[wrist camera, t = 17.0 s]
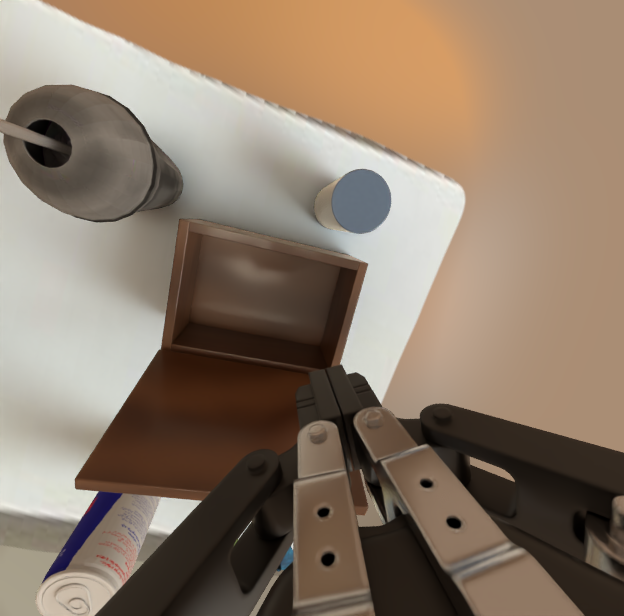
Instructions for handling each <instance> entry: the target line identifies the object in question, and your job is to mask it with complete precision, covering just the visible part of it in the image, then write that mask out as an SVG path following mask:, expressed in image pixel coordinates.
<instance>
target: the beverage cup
mask: <svg viewBox="0 0 624 616" xmlns="http://www.w3.org/2000/svg"><path fill="white" fill-rule="evenodd" d="M0 132H1V133H4V145H5V149H6V152H7V156H8V160H9V162H10V164H11V165H12V167H13V169H14V170H15V172H16V173H17V175H18V177H19V178H20V180H21V181H22V183H23V184H24V185H25V186H26V187H28V188H29V189H30V190H31V191H32V192H33V193H34V194H35V195H36V196H37V197H38V198H39V199H41V200H42V201H43V202H45V203H47V204H49V205H51V206H52V207H54V208H56V209H58V210H60V211H61V212H64V213H66V214H69V215H72V216H74V217H76V218H80V219H84V220H88V221H92V222H114V221H118V220H120V219H123V218H125V217H128V216H130V215H133V214H134V213H135V212H137V211H144V210H150V209H156V208H162V207H164V206H168V205H170V204H173V203H174V202H175V201H176V200H177V199H178V198H179V196H180V194H181V193H182V188H183V181H182V176H181V173H180V171H179V169H178V168H177V167H176V165H175V164H174V163H173V162H172V160H171V159H170V158H169V157H168V156H167V155H166V154H165V153H164V152H163V151H162V150H161V149H160V148H159V147H158V146H157V145H156V144H155V143H154V142H153V141H152V140H151V139H150V137H149V135H148V133H147V131H146V129H145V127H144V126H143V124H142V123H141V122H140V121H139V120H138V119H137V118H136V116H135V115H134V114H133V113H132V112H131V111H130V110H129V109H128V108H127V107H125V106H124V105H122V104H121V103H119V102H118V101H116V100H115V99H113V98H112V97H110V96H108V95H105V94H101V93H98V92H95V91H92V90H89V89H85V88H81V87H78V86H74V85H45V86H42V87H40V88H37V89H35V90H32V91H30V92H27V93H26V94H24V95H23V96H22V97H21V98H20V99H19V100H18V101H17V102H16V103H15V104H14V105H13V106H12V107H11V109H10V111H9V113H8V116H7V118H6V120H2V119H0Z"/></svg>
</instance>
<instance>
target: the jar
mask: <svg viewBox="0 0 624 616" xmlns="http://www.w3.org/2000/svg"><path fill="white" fill-rule="evenodd" d="M390 207H391V193H390V189H389V187H388V185H387V183H386V181H385V180H384V179H383V178H382V177H381V176H380V175H379V174H377V173H376V172H374V171H371V170H367V169H357V170H353V171H351V172H349V173H347V174H345V175H344V176H342V177H340V178H339V179H337V180H336V181H334V182H332V183H331V184H329V185H327V186H326V187H324V188H323V189H322V190H321V191H320V192H319V193H318V194H317V196H316V198H315V201H314V213H315V216H316V218H317V220H318V222H319V223H320V224H321V225H322V226H324V227H326V228H328V229H332V230H338V231H344V232H351V233H357V234H363V233H368V232H371V231H373V230H375V229H377V228H378V227H379V226H380V225H381V224H382V223H383V222H384V221H385V219H386V218H387V216H388V214H389V211H390Z"/></svg>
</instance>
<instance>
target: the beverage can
mask: <svg viewBox="0 0 624 616" xmlns="http://www.w3.org/2000/svg"><path fill="white" fill-rule="evenodd" d="M160 498H161V497H156V496H145V495H135V494H124V493H113V492H102V491H99V492H98V494H97V495H96V497H95V498H94V500H93V501H92V503H91V505H90V506H89V508H88V509H87V511H86V512H85V514H84V516H83V517H82V519H81V520H80V522H79V523H78V525H77V527H76V528H75V530H74V531H73V533H72V535H71V536H70V538H69V539H68V541H67V542H66V544H65V546H64V547H63V549H62V550H61V552H60V553H59V555H58V557H57V558H56V560H55V561H54V563H53V564H52V566H51V568H50V569H49V571H48V572H47V574H46V576H45V578H44V580H43V582H42V584H41V586H40V587H39V589H38V591H37V594H36V599H35V600H36V606H37V608H38V611H39V612H40V613H41V614H42V616H95V614H96V613H97V612H98V611H99V610H100V609H101V608H102V607H103V606H104V605H105V604H106V603H107V602H108V601H109V600H110V599H111V597H112V596H113V595H114V594H115V593H116V592H117V591H118V590H119V589H120V588H121V587H122V586H123V585H124V584H125V583H126V581H127V580H128V579H129V576H130V574H131V571H132V569H133V566H134V564H135V561H136V559H137V556H138V554H139V551H140V549H141V546H142V544H143V541H144V539H145V536H146V534H147V531H148V529H149V526H150V524H151V521H152V519H153V516H154V514H155V511H156V509H157V506H158V503H159V501H160Z"/></svg>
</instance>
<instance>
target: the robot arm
mask: <svg viewBox="0 0 624 616" xmlns="http://www.w3.org/2000/svg"><path fill="white" fill-rule="evenodd" d="M325 370H326V372H325ZM325 370H324V369H321V370H317V371H313V372H309V373H308V375H309V379H310V383H311V384H308V385H304V386H300V387H298V389H297V391H296V393H295V399H296V405H297V412H298V419H299V426H300V432H299V433H298V441H297V443H296V444H295V445H294V446H293V447H292V448H290V449H289V450H287V451H286V452H284V453H282V454H280V455H277V453H276V452H275V451H273V450H270V449H259V450H256V451H253V452H251V453H249V454H247V455H246V456H244V457H243V458H242V459H241V460H240V461H239V462H238V463H237V464H236V465H235V467H234V468H233V469H232V470H231V471H230V472H229V473H228V474H227V475H226V476H225V477H224V478H223V479H222V480H221V481H220V482H219V484H218V485H217V486H216V487H215V488H214V489H213V490H212V491H211V492H210V493H209V494H208V495H207V496H206V497H205V498H204V500H203V501H202V502H201V503H200V504H199V505H198V506H197V507H196V508H195V509H194V510H193V511H192V512H191V513H190V514H189V515H188V517H187V518H186V519H185V520H184V521H183V522H182V523H181V524H180V525H179V526H178V527H177V528H176V529H175V530H174V531H173V533H172V534H171V535H170V536H169V537H168V538H167V539H166V540H165V541H164V542H163V543H162V544H161V545H160V546H159V547H158V548H157V550H156V551H155V552H154V553H153V554H152V555H151V556H150V557H149V558H148V559H147V560H146V561H145V562H144V564H142V566H141V567H140V568H139V569H138V570H137V571H136V572H135V573H134V574H133V575H132V576H131V577H130V578H129V579H128V580H127V581H126V583H125V584H124V585H123V586H122V587H121V588H120V589H119V590H118V591H117V592H116V593H115V594H114V595H113V596H112V597H111V599H110V600H109V601H108V602H107V603H106V604H105V605H104V606H103V607H102V608H101V609H100V610H99V611H98V612H97V613H96V614H95V616H249V615H250V613H251V612H252V610H253V609H254V607H255V605H256V604H257V602H258V600H259V599H260V597H261V595H262V593H263V592H264V590H265V588H266V587H267V585H268V583H269V581H270V580H271V578H272V577H273V575H274V573H275V572H276V570H277V568H278V567H279V565H280V563H281V561H282V560H283V558H284V556H285V555H286V553H287V551H288V550H289V548H290V546H291V545H292V543H293V562H292V563H291V564H290V565H289V566H288V567H287V568H286V569H285V570H284V571H283V572H282V573H281V575H280V576H279V577H278V579H277V580H276V581H275V583H274V585H273V586H272V588H271V589H270V591H269V593H268V595H267V597H266V598H265V600H264V602H263V604H262V606H261V608H260V609H259V612H258V613H257V615H256V616H624V453H623V452H619V451H615V450H612V449H608V448H605V447H600V446H597V445H594V444H590V443H586V442H583V441H579V440H575V439H572V438H568V437H565V436H561V435H558V434H554V433H550V432H547V431H543V430H540V429H536V428H532V427H529V426H525V425H521V424H517V423H514V422H510V421H507V420H503V419H500V418H496V417H492V416H489V415H485V414H482V413H478V412H475V411H471V410H467V409H464V408H460V407H456V406H452V405H449V404H433V405H430V406H428V407H426V408H424V409H423V410H422V412H421V413H420V419H400V418H396V417H395V416H394V414H393V413H392V412H391V411H389V410H388V409H386V408H383V407H382V405H381V404H380V402H379V400H378V399H377V397H376V395H375V394H374V392H373V390H372V389H371V387H370V385H369V384H368V382H367V380H366V379H365V377H364V376H362V375H360V374H358V373H357V372H356V373H352V374H348V375H347V374H346V372H345V370H344V368H343V366H342V364H341V365H337V366H333V367H329V368H325ZM470 457H473V458H476V459H478V460H481V461H484V462H486V463H489V464H492V465H494V466H497V467H500V468H502V469H504V470H506V471H507V472H508V473H509V474H510V475H511V476H512V477H513V478H514V480H515V482H513V481H510V480H507V479H505V478H503V477H500V476H497V475H495V474H492V473H490V472H487V471H485V470H482V469H480V468H477V467H475V466H472V465H470ZM350 458H351V459H350ZM351 461H352V464H353V467H354V470H359V469H362V472H363V474H364V479H365V484H366V488H367V491H368V493H369V495H370V497H371V499H372V501H373V504H374V506H375V508H376V510H377V512H378V514H379V517H380V519H381V521H382V523H383V525H382V526H376V527H375V526H373V527H359V526H358V521H357V516H356V511H355V506H354V501H353V497H352V492H351V478H350V473H349V472H352V471H353V469H352V464H351ZM251 520H252V522H251ZM250 522H251V524H250V525H249V523H250ZM248 525H249V526H248ZM247 526H248V528H247V529H246V527H247ZM245 529H246V530H245ZM244 530H245V532H244V533H243V531H244ZM242 533H243V534H242ZM241 534H242V536H241V537H240V535H241ZM239 537H240V538H239ZM238 538H239V540H238V541H237V539H238ZM236 541H237V542H236ZM235 542H236V544H235ZM234 544H235V545H234Z"/></svg>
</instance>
